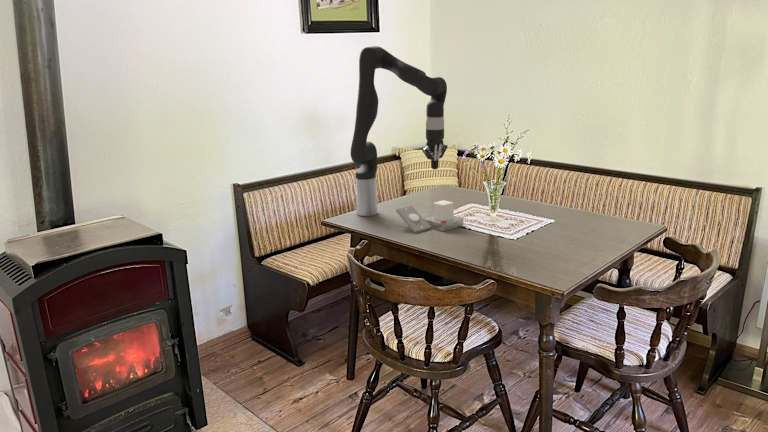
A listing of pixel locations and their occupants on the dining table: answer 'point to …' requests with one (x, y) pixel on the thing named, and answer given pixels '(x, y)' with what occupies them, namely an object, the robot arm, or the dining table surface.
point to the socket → (444, 223)
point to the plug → (443, 210)
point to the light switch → (413, 219)
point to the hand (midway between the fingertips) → (434, 168)
